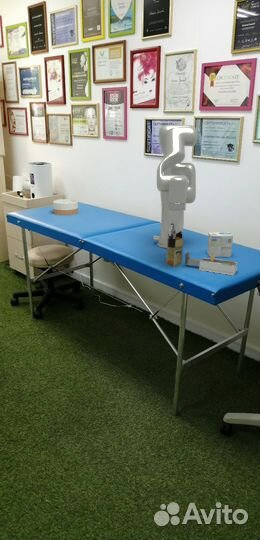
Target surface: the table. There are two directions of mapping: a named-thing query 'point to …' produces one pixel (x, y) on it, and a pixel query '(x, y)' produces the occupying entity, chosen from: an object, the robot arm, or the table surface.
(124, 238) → the table surface
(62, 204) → the bowl
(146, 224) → the table surface
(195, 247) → the table surface
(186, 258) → the plunger
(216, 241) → the light bulb box
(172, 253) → the shoe polish box
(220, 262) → the gauge rail
